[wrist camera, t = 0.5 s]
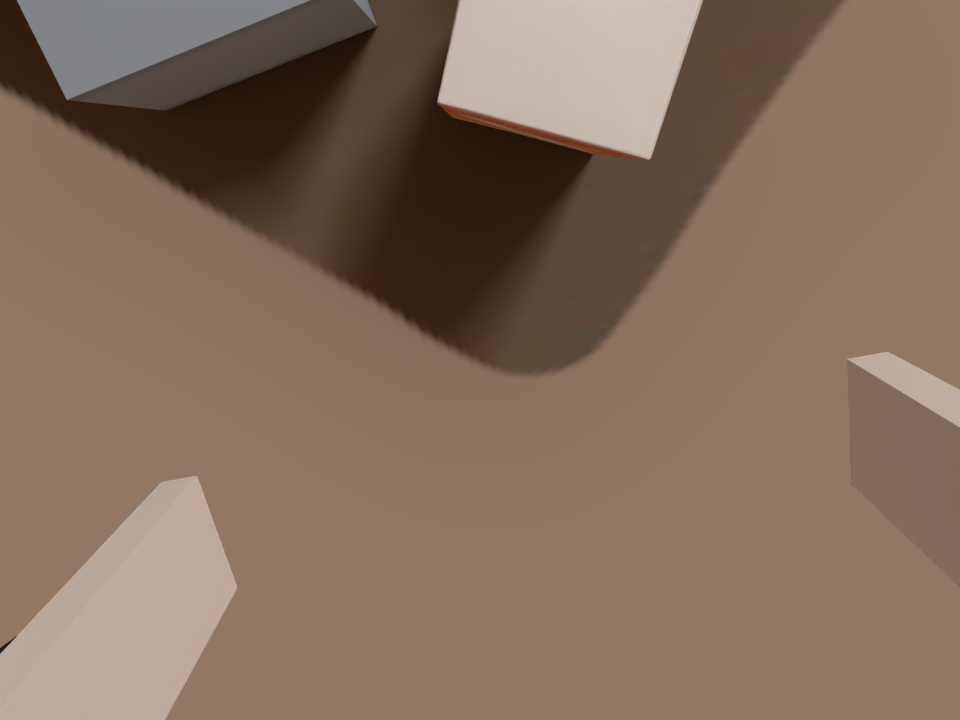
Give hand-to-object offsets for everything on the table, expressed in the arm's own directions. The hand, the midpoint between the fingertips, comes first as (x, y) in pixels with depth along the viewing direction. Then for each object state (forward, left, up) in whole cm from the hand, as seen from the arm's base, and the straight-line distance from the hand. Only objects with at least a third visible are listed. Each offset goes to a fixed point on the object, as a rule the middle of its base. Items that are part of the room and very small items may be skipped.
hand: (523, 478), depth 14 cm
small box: (-9, +5, -26) cm, 28 cm away
